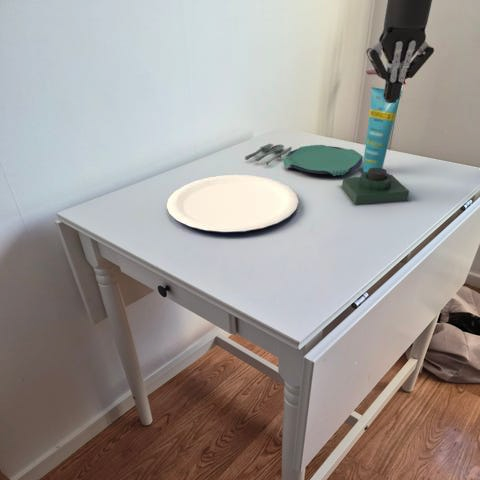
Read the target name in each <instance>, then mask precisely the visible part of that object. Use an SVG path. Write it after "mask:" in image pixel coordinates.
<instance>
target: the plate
mask: <svg viewBox="0 0 480 480" xmlns="http://www.w3.org/2000/svg"><path fill="white" fill-rule="evenodd" d="M298 206H299V198H298V196H297V193H296V192H295V191H294V190H293V189H292V188H291V187H290V186H288V185H286V184H284V183H283V182H281V181H277V180H275V179H272V178H268V177H264V176H263V177H262V176H258V175H247V174H225V175H224V174H223V175H218V176H209V177H204V178H202V179H198V180H194V181H192V182H189V183H187V184H184V185H183V186H181V187H180V188H178V189H177V190H175V191H173V193H172V194H171V195H170V196H169V198H168V199H167V203H166V209H167V211H168V213H169V216H171V217H172V218H173V219H174V220H175V221H176V222H178V223H180V224H181V225H184V226H186V227H189V228H192V229H195V230H201V231H204V232H212V233H224V234H227V233H228V234H229V233H230V234H231V233H246V232H252V231H257V230H258V231H259V230H263V229H265V228H269V227H272V226H274V225H278V224H279V223H281V222H283V221H286V220H287V219H289V218H290V217H291V216H292V215H293V214H294V213H295V212H296V211H297V208H298Z"/></svg>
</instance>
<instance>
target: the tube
mask: <svg viewBox="0 0 480 480" xmlns="http://www.w3.org/2000/svg"><path fill="white" fill-rule="evenodd" d="M384 89H385V88H383V87H377V86H371V92H370V93H371V95H370V106H369V115H368V124H367V132H366V139H365V146H364V155H363V160H362V167H361V172H362V173H364V172H367V171H368V170H369V169H370V168H383V169H384V163H385V159H386V156H387V152H388V148H389V142H390V140H391V139H390V138H391V134H392V130H393V127H394V122H395V119H396V115H397V111H398V107H399V104H400V102H401V101H400V100H401V97H402V94H403V90H402V89H401V92H400V97H399V99H398V100H396V103H387V102H386V101H385V99H384V97H383V95H384Z"/></svg>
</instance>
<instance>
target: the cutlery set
mask: <svg viewBox="0 0 480 480" xmlns="http://www.w3.org/2000/svg"><path fill="white" fill-rule="evenodd" d="M284 148H285V146H284V144H275V145H274V143H268V144H265V145H263V146H260V147H259V149H257V150H256V151H255V152H253V153H250V154H248V155H246V156H244V160H246V161H249V160H250V159H252V158H253V157H256V156H257V155H259V154H260V153H261V152H266V151H268V150H269V149H270V151H268V152H266V153H264V154H262V155H260V156H258V157H256V158H255V162H260V161H261V160H262V159H264V158H265V157H267V156H270V154H273V153H276V154H275V155H274V157H273V158H271V159H270V160H268V161H266V162H265V165H266V166H269V164H270V163H271V162H272V161H274V160H276V159H279V158H280V159H281V158H282V156H283V155H285V156H284V158H283V165H284V167H285V168H286V169H288V166H290V167H292V168H294V169H296V170H298V171H302V172H306V173H309V174H310V173H311V174H318V175H332V176H333V177H336V176H344V175H346V173H348V172H351V171H354V170H355V169H357V168H358V167H360V166H361V165H362V164H363V159H364V155H361V153H359V152H358V151H356V150H355V149H351V148H344V147H339V146H333V145H332V146H330V145H324V144H313V145H312V144H311V145H303V146H300V147H298V148H296V149H293V150H292V148H293V147H292V146H289V147H288V148H286V149H285V150H283V149H284ZM282 150H283V151H282ZM279 152H280V153H279Z"/></svg>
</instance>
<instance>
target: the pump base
mask: <svg viewBox="0 0 480 480" xmlns="http://www.w3.org/2000/svg"><path fill="white" fill-rule="evenodd" d="M367 175H368V171H367V172H362V173H361V174H360V176H354V177H343V178H342V183H341V188H342V189H343V190H344V192H345V193H346V195H347V196H348V197H349V199H350V200H351V201H352V202H353V203H354V204H355V205H368V204H369V205H370V204H381V203H393V202H394V203H395V202H407V201H408V198H409V194H410V190H409V189H407V188H406V187H405V185H403V184H402V182H400V181H399V180H398V179H397V178H396V177H395V176H394V175H393V174H389V173H388V172H387V173H386V178H385V180H383V181H375V180H370V179H368V178H367Z"/></svg>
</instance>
